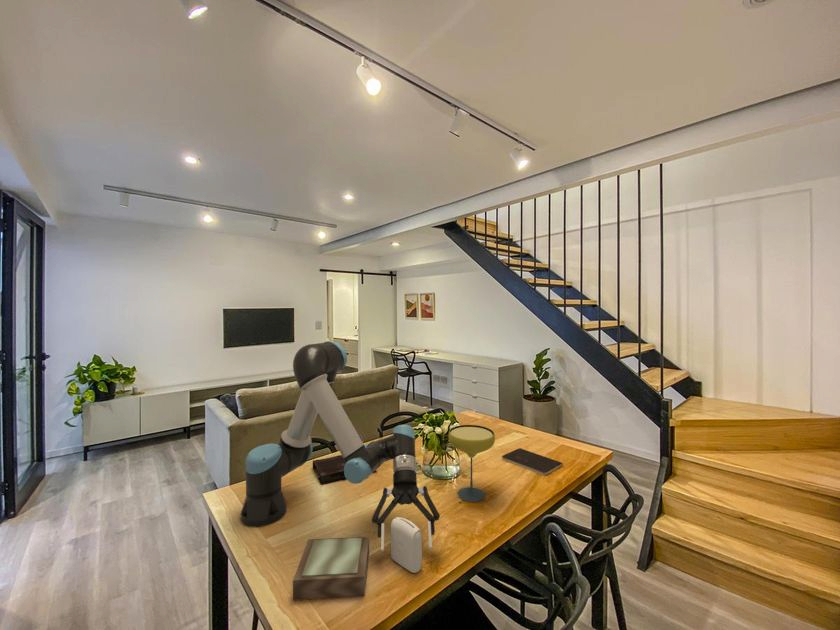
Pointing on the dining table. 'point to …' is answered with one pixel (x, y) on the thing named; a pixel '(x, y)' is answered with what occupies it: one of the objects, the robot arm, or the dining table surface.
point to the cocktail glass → (471, 452)
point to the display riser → (332, 568)
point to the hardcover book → (532, 461)
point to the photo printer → (406, 544)
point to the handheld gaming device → (418, 467)
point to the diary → (330, 469)
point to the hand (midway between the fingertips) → (406, 549)
